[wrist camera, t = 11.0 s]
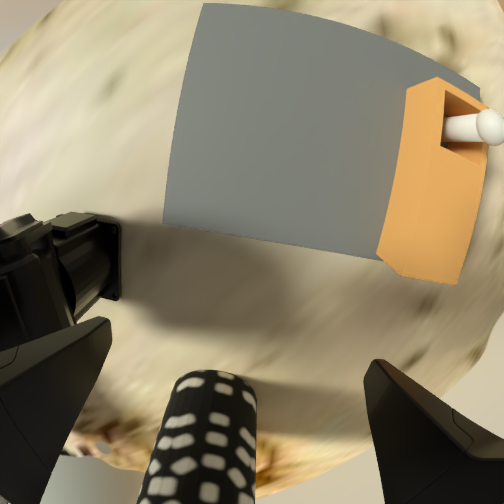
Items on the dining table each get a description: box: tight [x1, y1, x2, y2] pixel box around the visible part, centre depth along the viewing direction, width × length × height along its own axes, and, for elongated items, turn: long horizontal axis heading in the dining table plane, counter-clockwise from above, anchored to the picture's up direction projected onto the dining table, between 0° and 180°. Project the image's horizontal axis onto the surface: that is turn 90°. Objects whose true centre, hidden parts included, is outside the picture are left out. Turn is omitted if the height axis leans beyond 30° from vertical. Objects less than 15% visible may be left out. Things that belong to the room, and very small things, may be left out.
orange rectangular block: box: [376, 77, 490, 285], centre depth 15 cm, size 12×5×4 cm, turn 171°
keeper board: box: [163, 3, 504, 261], centre depth 13 cm, size 16×22×9 cm
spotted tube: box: [137, 370, 257, 504], centre depth 15 cm, size 8×8×20 cm
